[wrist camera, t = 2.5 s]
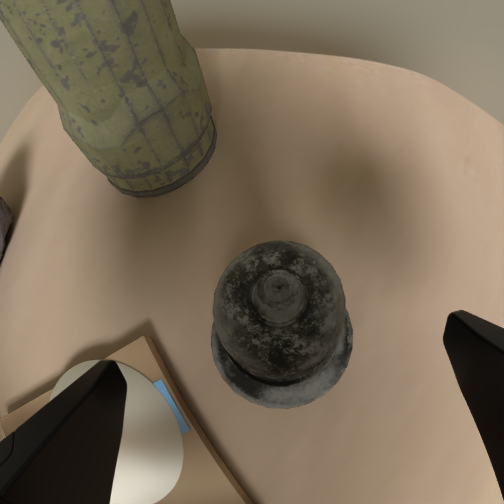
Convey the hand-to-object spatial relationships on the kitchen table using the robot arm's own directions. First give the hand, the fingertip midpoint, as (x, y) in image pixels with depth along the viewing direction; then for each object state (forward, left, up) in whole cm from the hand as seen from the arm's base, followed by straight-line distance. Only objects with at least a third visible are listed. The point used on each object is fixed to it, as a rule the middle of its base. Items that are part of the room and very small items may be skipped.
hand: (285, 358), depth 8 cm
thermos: (+17, 0, -9) cm, 19 cm away
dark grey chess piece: (+1, 0, -9) cm, 9 cm away
